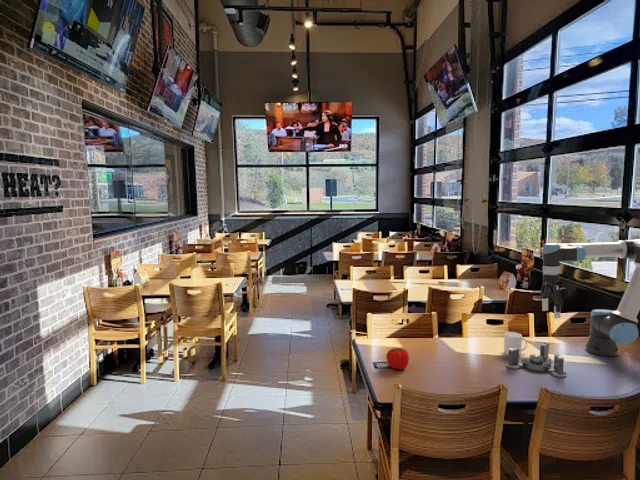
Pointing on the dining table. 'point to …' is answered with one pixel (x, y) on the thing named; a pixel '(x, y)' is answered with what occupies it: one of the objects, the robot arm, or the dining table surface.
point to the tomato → (397, 358)
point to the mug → (513, 341)
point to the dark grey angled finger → (513, 356)
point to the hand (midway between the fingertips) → (551, 314)
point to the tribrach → (537, 365)
